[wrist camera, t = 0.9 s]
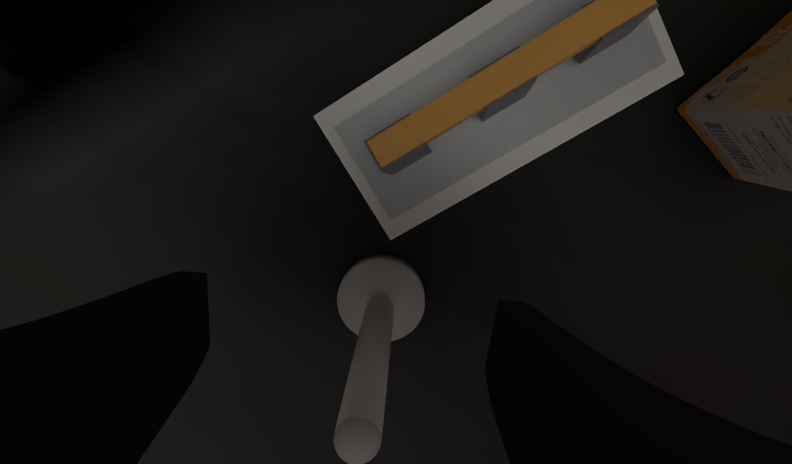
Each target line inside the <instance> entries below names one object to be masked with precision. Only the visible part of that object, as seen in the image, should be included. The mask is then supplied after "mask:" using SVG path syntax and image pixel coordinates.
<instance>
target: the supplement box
mask: <svg viewBox="0 0 792 464" xmlns="http://www.w3.org/2000/svg"><path fill="white" fill-rule="evenodd" d="M677 111H678V112H679V114H680V115H681V116H682V117H683V118H684V119H685V120H686V121H687V122H688V124H689V125H690V126H691V127H692V129H693V130H694V131H695V132H696V134H697V135H698V136H699V137H700V138H701V139H702V141H703V142H704V143H705V144H706V145H707V146H708V147H709V149H710V151H712V153H713V154H714V155H715V156H716V158H717V159H718V160H719V161H720V162H721V164H722V165H723V166H724V167H725V168H726V169H727V171H728V172H729V173H730V175H731V176H732V177H733V178H736V179H740V180H744V181H749V182H752V183H757V184H761V185H766V186H770V187H775V188H779V189H783V190H788V191H792V10H791V11H790V12H789V13H788V14H787V15H786V16H785V17H783V18H782V19H781V20H780V21H779V22H778V23H777V24H776V25H775V26H773V27H772V28H771V29H770V30H769V31H768V32H767V33H766V34H765V35H763V36H762V37H761V38H760V39H759V40H758V41H757V42H756V43H755V44H754V45H752V46H751V47H750V48H749V49H748V50H747V51H746V52H744V53H743V54H742V55H741V56H740V57H739V58H737V59H736V60H735V61H734V62H733V63H732V64H730V65H729V66H728V67H727V68H725V69H724V70H723V71H721V72H720V73H719V74H718V75H716V76H715V77H714V78H713V79H711V80H710V81H709V82H708V83H706V84H705V85H704V86H703V87H701V88H700V89H699V90H698V91H697V92H695V93H694V94H693V95H691V96H690V97H689V98H688V99H687V100H686V101H684V102H683V103H682V104H681V105H680V106H679V107H678V108H677Z"/></svg>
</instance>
